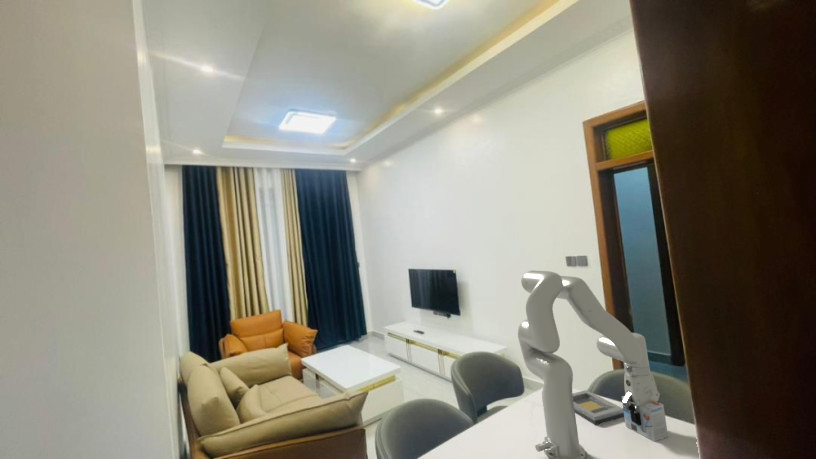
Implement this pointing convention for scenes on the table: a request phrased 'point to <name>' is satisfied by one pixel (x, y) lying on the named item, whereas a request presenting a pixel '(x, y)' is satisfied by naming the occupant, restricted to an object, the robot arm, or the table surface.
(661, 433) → the light bulb box
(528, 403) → the table surface
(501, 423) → the table surface
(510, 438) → the table surface
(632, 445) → the table surface
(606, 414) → the gray rectangular frame
